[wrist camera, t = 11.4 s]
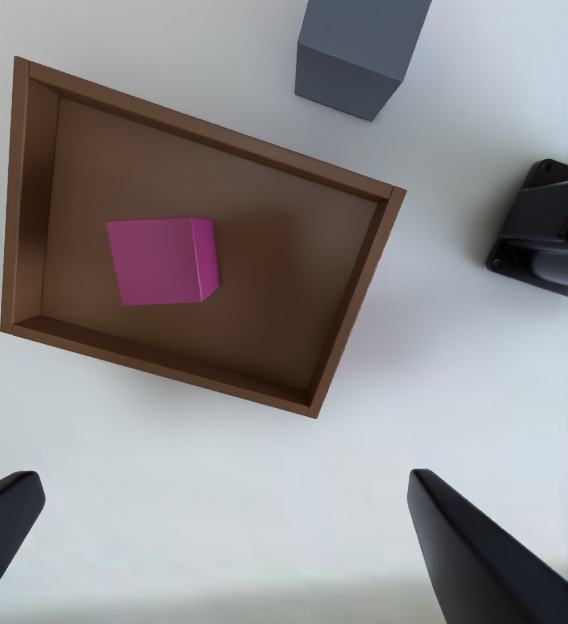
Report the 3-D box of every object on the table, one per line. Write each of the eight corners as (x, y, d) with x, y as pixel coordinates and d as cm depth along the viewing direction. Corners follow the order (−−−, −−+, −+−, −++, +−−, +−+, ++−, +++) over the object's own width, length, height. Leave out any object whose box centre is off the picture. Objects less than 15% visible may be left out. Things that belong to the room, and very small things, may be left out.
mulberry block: (212, 219, 17) (191, 216, 13) (220, 286, 18) (202, 302, 14) (145, 222, 17) (104, 220, 13) (156, 290, 18) (121, 305, 14)
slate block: (404, 26, 15) (452, -56, 11) (371, 121, 16) (402, 82, 12) (321, -6, 15) (336, -104, 10) (294, 94, 16) (297, 43, 12)
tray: (389, 195, 17) (407, 190, 15) (313, 396, 21) (316, 419, 18) (56, 82, 16) (13, 54, 13) (36, 318, 19) (-1, 331, 17)
